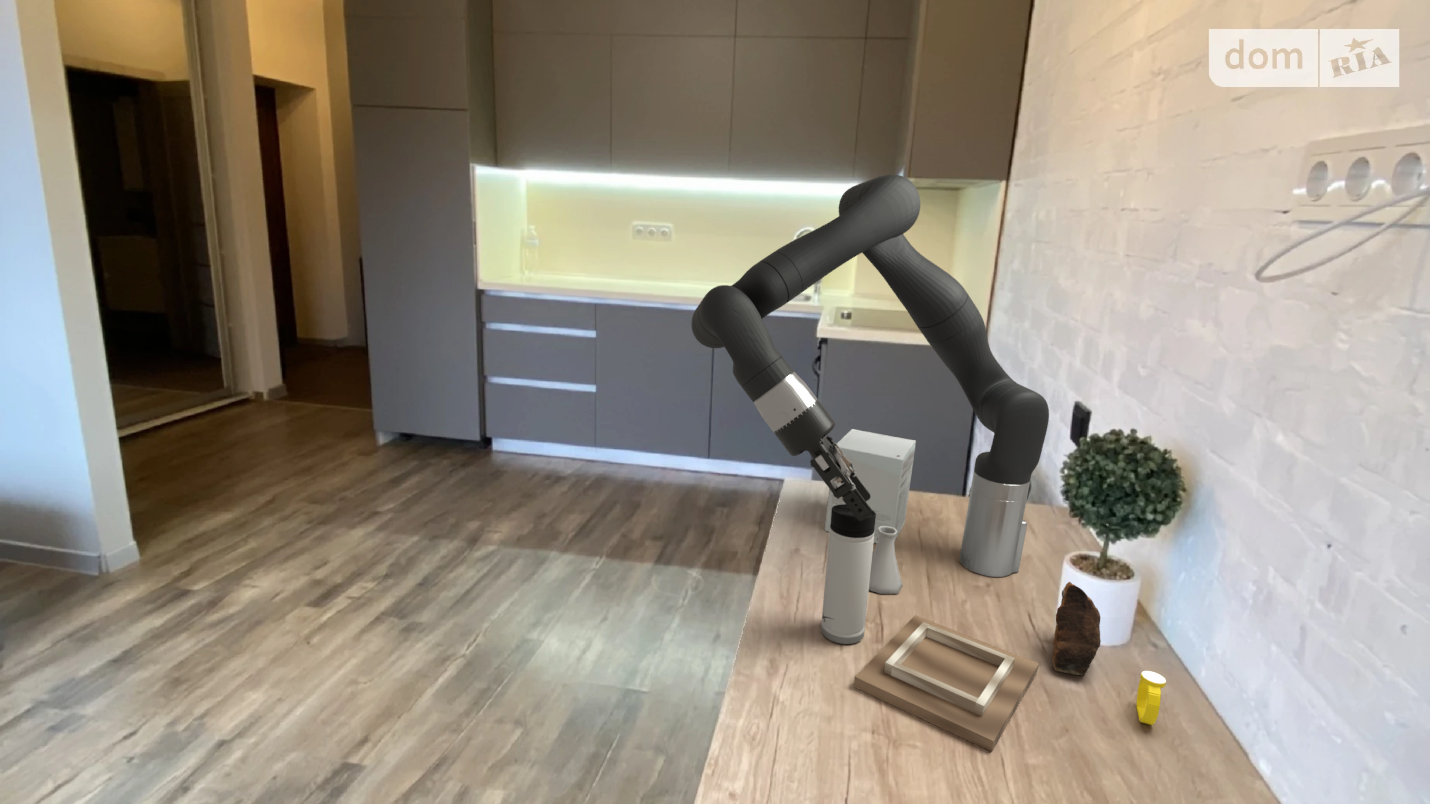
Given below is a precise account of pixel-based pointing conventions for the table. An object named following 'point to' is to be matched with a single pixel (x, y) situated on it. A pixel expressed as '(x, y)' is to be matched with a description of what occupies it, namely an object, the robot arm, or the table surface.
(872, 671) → the wooden square tray
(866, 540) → the travel mug
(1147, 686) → the watch
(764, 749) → the table surface
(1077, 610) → the decorative rock
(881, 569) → the flask
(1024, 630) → the table surface
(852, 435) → the supplement box
